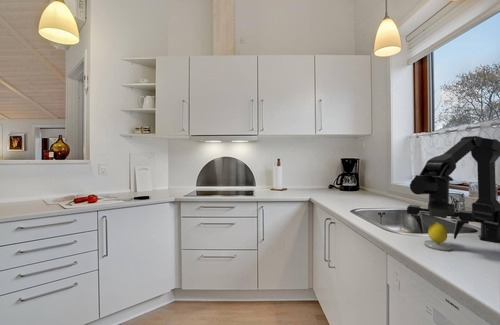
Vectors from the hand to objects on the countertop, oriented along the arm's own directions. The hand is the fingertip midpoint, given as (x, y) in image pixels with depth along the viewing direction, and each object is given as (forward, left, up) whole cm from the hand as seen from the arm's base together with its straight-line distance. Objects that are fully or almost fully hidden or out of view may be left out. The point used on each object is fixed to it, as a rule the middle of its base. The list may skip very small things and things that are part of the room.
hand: (437, 235), depth 86 cm
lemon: (0, 0, -3) cm, 3 cm away
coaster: (0, 0, -4) cm, 4 cm away
